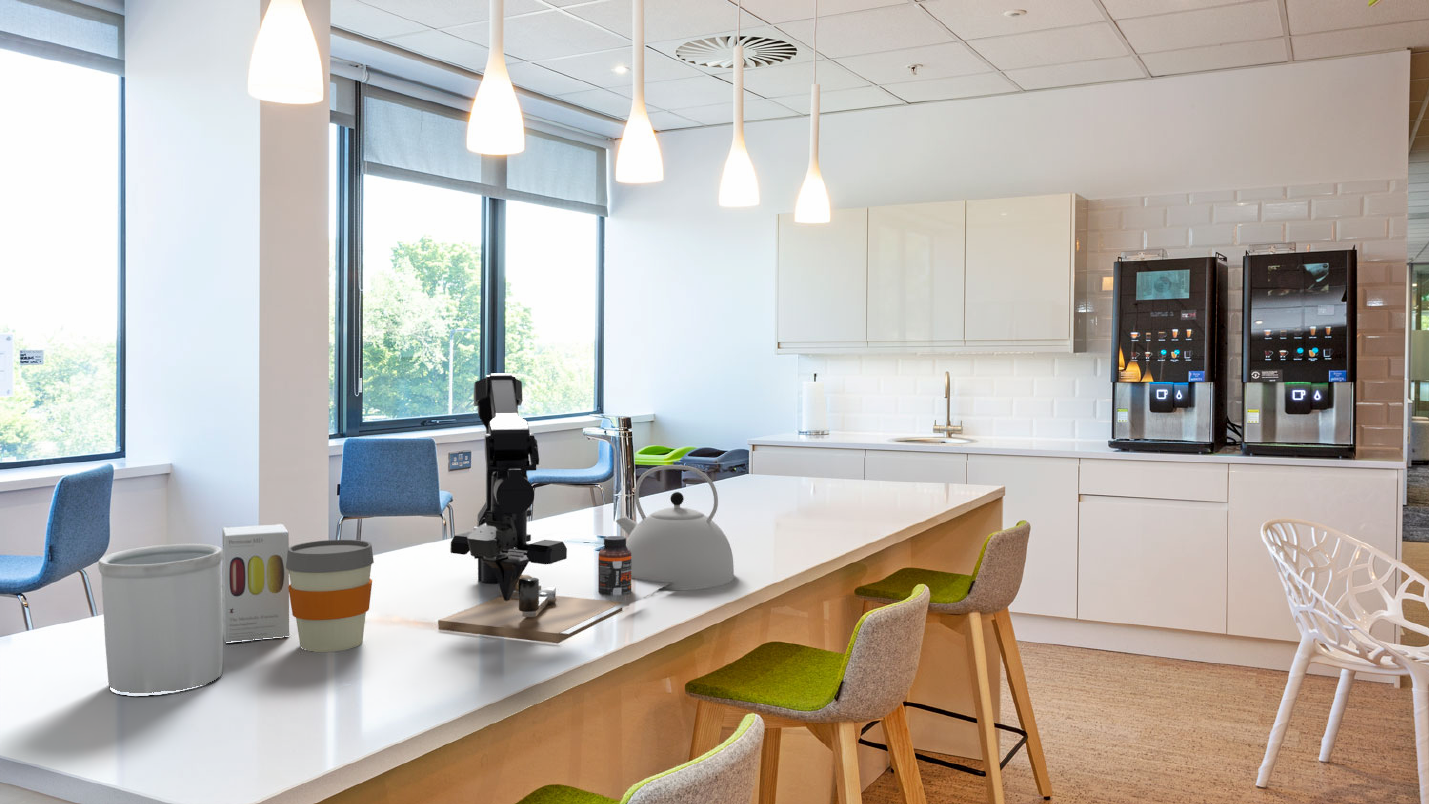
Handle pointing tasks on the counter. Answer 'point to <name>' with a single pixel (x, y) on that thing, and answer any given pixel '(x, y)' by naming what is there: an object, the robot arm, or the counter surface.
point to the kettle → (678, 543)
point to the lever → (534, 597)
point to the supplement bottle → (614, 567)
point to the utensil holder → (162, 617)
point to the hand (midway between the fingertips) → (507, 600)
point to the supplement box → (255, 582)
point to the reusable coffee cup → (330, 592)
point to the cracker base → (528, 618)
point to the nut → (521, 578)
